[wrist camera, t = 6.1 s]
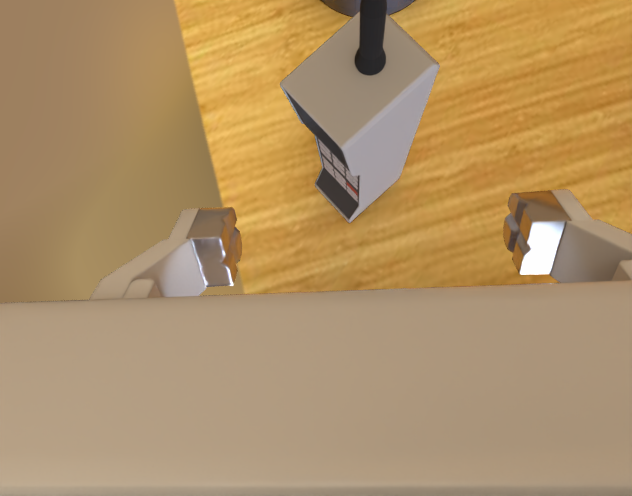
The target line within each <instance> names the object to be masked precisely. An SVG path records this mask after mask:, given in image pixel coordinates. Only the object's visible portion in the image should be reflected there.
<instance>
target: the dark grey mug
mask: <svg viewBox="0 0 632 496" xmlns="http://www.w3.org/2000/svg"><path fill="white" fill-rule="evenodd" d="M322 1H323V2H324V3H325V4H326V5H328V6H329V7H330V8H332V9H334V10H336V11H338V12H340V13H342V14H345V15H348V16H353V17H354V16H355V15H356V14H357V13H358V12H359V11H360V3H361V0H322ZM414 1H415V0H387V14H388V15H390V14H392V13H395V12H397V11H399V10H401V9H403V8H405V7H407V6H408V5H409V4H411V3H412V2H414Z"/></svg>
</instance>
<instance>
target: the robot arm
mask: <svg viewBox="0 0 632 496" xmlns="http://www.w3.org/2000/svg"><path fill="white" fill-rule="evenodd" d="M508 207H509V209H510V211H511V213H510V214H509V215H508V216H507V217H506V218H505V221H504V227H503V237H504V242H505V245H506V247H507V249H508V250H509V251H511V252H513V258H512V260H513V262H514V264H515V266H516V268H517V270H518V273H519V274H550V275H551V276H552V277H553V278H555V279H556V280H557V281H559V282H560V283H542V284H514V285H487V286H459V287H431V288H403V289H375V290H347V291H320V292H292V293H264V294H236V295H209V296H199V295H200V294H201V293H202V292H203V291H204V290H205V289H206V287H211V286H228V285H234V282H235V278H236V274H237V271H238V270H237V266H236V264H237V263H238V262H239V261H240V259H241V255H242V241H241V235H240V231H239V230H238V229H237V228H236V227H235V224H236V221H237V218H236V214H235V210H234V209H233V208H232V207H224V208H201V209H200V208H194V209H184V210H182V212H181V214H180V216H179V218H178V220H177V222H176V224H175V226H174V228H173V230H172V232H171V234H170V236H169V238H168V240H162V241H161V242H159V243H157V244H156V245H154V246H153V247H152V248H150V249H148V250H147V251H145V252H143V253H142V254H140V255H139V256H137V257H136V258H134V259H132V260H131V261H129V262H128V263H126V264H125V265H123V266H121V267H120V268H118V269H117V270H115V271H114V272H112V273H111V274H109V275H108V276H106V277H104V278H103V279H101V281H100V282H99V284H98V285H97V287H96V289H95V290H94V292H93V294H92V295H91V297H90V299H89V300H70V301H69V300H68V301H41V302H11V303H0V496H632V234H630V233H628V232H626V231H623V230H621V229H619V228H616V227H614V226H612V225H610V224H607V223H605V222H603V221H601V220H593V219H592V218H591V217H590V215H589V214H588V213H587V212H586V210H585V209H584V208H583V206H582V205H581V204H580V203H579V201H578V200H577V199H576V197H575V196H574V195H573V194H572V192H571V191H570V190H568V189H559V190H548V191H536V192H523V193H512V194H511V196H510V198H509V202H508Z"/></svg>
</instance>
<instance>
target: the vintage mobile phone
mask: <svg viewBox="0 0 632 496" xmlns="http://www.w3.org/2000/svg"><path fill="white" fill-rule="evenodd" d="M439 67H440V65H439V63H438V62H436V61H435V60H434V59H433V58H432V57H431V56H430V55H429V54H428V53H427V52H426V51H425V50H424V49H423V48H422V47H421V46H420V45H419V44H418V43H417V42H416V41H415V40H414V39H413V38H412V37H410V36H409V35H408V34H407V33H406V32H405V31H404V30H403V29H402V28H401V27H400V26H399V25H398V24H397V23H396V22H395V21H394V20H393V19H392V18H391V17H390V16H389V15H388V14H387V0H361V3H360V11H359V12H358V13H357V14H356V15H355V16H354V17H353V18H352V19H351V20H349V21H348V22H347V23H346V24H345V25H344V26H343V27H342V28H340V29H339V30H338V31H337V32H336V33H335V34H334V35H333V36H332V37H330V38H329V39H328V40H327V41H326V42H325V43H324V44H323V45H321V46H320V47H319V48H318V49H317V50H316V51H315V52H314V53H313V54H311V55H310V56H309V57H308V58H307V59H306V60H305V61H304V62H302V63H301V64H300V65H299V66H298V67H297V68H296V69H295V70H294V71H292V72H291V73H290V74H289V75H288V76H287V77H286V78H285V79H283V80H282V81H281V82H280V86H281V88H282V90H283V91H284V93H285V95H286V97H287V98H288V100H289V102H290V104H291V105H292V107H293V109H294V111H295V113H296V114H297V116H298V118H299V120H300V121H301V123H302V124H305V125H306V126H307V127H308V128H309V130H310V131H311V132H312V133H313V134H314V135H315V139H316V143H317V147H318V151H319V155H320V159H321V163H322V169H321V171H320V174H319V176H318V178H317V180H316V182H315V187H316V188H317V189H318V190H319V191H320V192H321V194H322V195H323V196H324V197H325V198H326V199H327V200H328V201H329V202H330V203H331V204H332V205H333V206H334V208H335V209H336V210H337V211H338V212H339V213H340V214H341V215H342V216H343V217H344V218H345V219H346V220H347V221H348V223H351V222H352V221H353V220H354V219H355V218H356V217H357V216H358V215H359V214H361V213H362V212H363V211H364V210H365V209H366V208H367V207H368V206H369V205H370V204H372V203H373V202H374V201H375V200H376V199H377V198H378V197H379V196H380V195H382V194H383V193H384V192H385V191H386V190H387V189H388V188H389V187H390V186H392V185H393V184H394V183H395V182H396V181H397V180H398V179H399V178H400V175H401V172H402V170H403V167H404V164H405V161H406V159H407V156H408V153H409V150H410V147H411V145H412V142H413V139H414V136H415V134H416V131H417V128H418V125H419V122H420V120H421V117H422V114H423V111H424V108H425V106H426V103H427V100H428V97H429V95H430V92H431V89H432V86H433V83H434V81H435V78H436V75H437V72H438V70H439Z"/></svg>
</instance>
